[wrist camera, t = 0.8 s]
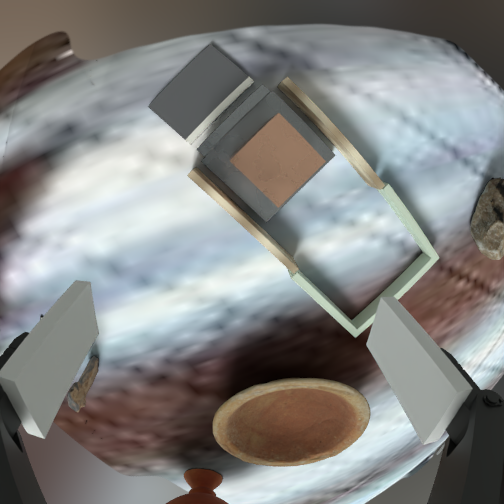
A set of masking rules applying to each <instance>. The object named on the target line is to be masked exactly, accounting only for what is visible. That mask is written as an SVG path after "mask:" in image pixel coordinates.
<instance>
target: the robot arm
mask: <svg viewBox="0 0 504 504" xmlns="http://www.w3.org/2000/svg"><path fill="white" fill-rule="evenodd" d="M98 334H99V332H98V327H97V321H96V316H95V310H94V303H93V297H92V290H91V283H90V282H87V281H77V280H76V281H75V282H74V283H73V284H72V285H71V286H70V287H69V288H68V289H67V290H66V292H65V293H64V294H63V295H62V296H61V297H60V298H59V299H58V300H57V302H56V303H55V304H54V305H53V306H52V307H51V308H50V309H49V311H48V312H47V313H46V314H45V315H44V316H43V318H42V319H41V320H40V321H39V322H38V323H37V325H36V326H35V327H34V328H33V329H32V331H31V332H30V333H27V332H24V333H23V334H21V335H20V336H18V337H16V338H15V339H14V340H13V342H12V343H11V344H10V345H9V348H7V349H6V350H5V351H4V353H3V355H1V356H0V504H47V503H46V501H45V498H44V496H43V494H42V492H41V489H40V487H39V485H38V482H37V480H36V477H35V475H34V472H33V470H32V467H31V464H30V462H29V459H28V456H27V453H26V450H25V447H24V444H23V441H22V438H21V435H20V433H19V431H18V427H19V426H20V424H21V423H22V424H23V426H24V428H25V430H26V431H27V433H29V434H32V435H35V436H38V437H41V438H43V439H45V437H46V435H47V433H48V431H49V428H50V426H51V424H52V422H53V420H54V418H55V416H56V414H57V412H58V409H59V407H60V405H61V403H62V401H63V399H64V397H65V395H66V393H67V391H68V389H69V387H70V385H71V384H72V382H73V380H74V378H75V376H76V374H77V372H78V370H79V368H80V366H81V365H82V363H83V361H84V359H85V357H86V355H87V354H88V352H89V350H90V348H91V346H92V345H93V343H94V341H95V339H96V337H97V336H98ZM366 345H367V347H368V349H369V350H370V352H371V354H372V355H373V357H374V359H375V360H376V362H377V364H378V366H379V367H380V369H381V371H382V372H383V374H384V376H385V378H386V379H387V381H388V383H389V384H390V386H391V388H392V390H393V391H394V393H395V395H396V397H397V399H398V400H399V402H400V404H401V406H402V407H403V409H404V411H405V413H406V415H407V416H408V418H409V420H410V422H411V424H412V425H413V427H414V429H415V431H416V433H417V435H418V437H419V438H420V440H421V442H422V444H423V445H424V444H428V443H431V442H434V441H438V440H439V439H440V437H441V436H442V434H443V433H444V432H445V430H446V431H447V433H448V434H449V437H448V438H447V439H446V441H445V442H444V443H443V445H442V446H441V447H440V448H439V450H438V451H437V453H436V454H439V453H440V452H441V451H442V450H443V453H442V457H441V461H440V465H439V468H438V472H437V475H436V478H435V482H434V485H433V488H432V491H431V494H430V497H429V500H428V503H427V504H504V400H503V399H502V398H501V397H500V395H498V394H497V393H496V392H494V391H492V390H487V389H485V390H480V388H479V387H478V386H477V385H476V383H475V382H474V381H473V380H472V379H471V377H470V376H469V375H468V374H467V373H466V371H465V370H463V368H462V367H461V365H460V364H458V362H457V361H456V359H455V358H454V357H453V356H452V355H451V354H450V353H448V352H447V351H446V350H444V349H443V348H439V347H438V345H437V344H436V343H435V342H434V341H433V340H432V338H431V337H430V336H429V335H428V334H427V333H426V332H425V330H424V329H423V328H422V327H421V326H420V325H419V324H418V322H417V321H416V320H415V319H414V318H413V317H412V316H411V315H410V314H409V312H408V311H407V310H406V309H405V308H404V307H403V306H402V305H401V304H400V303H399V301H398V300H397V299H396V298H395V297H381V298H380V302H379V305H378V309H377V312H376V315H375V319H374V322H373V325H372V328H371V332H370V335H369V338H368V341H367V344H366Z"/></svg>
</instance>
